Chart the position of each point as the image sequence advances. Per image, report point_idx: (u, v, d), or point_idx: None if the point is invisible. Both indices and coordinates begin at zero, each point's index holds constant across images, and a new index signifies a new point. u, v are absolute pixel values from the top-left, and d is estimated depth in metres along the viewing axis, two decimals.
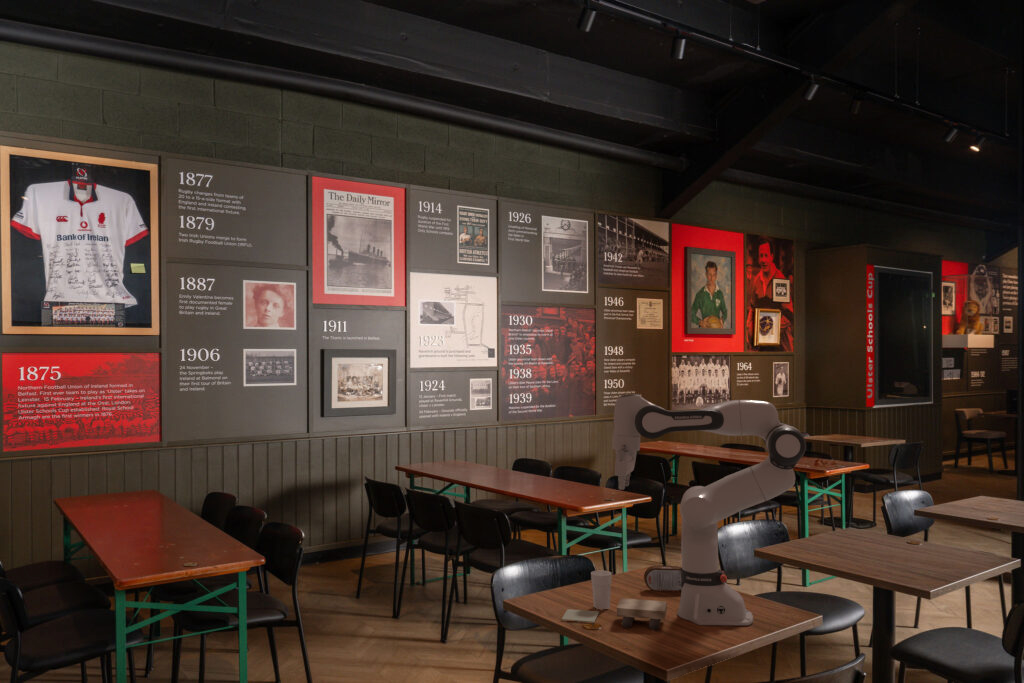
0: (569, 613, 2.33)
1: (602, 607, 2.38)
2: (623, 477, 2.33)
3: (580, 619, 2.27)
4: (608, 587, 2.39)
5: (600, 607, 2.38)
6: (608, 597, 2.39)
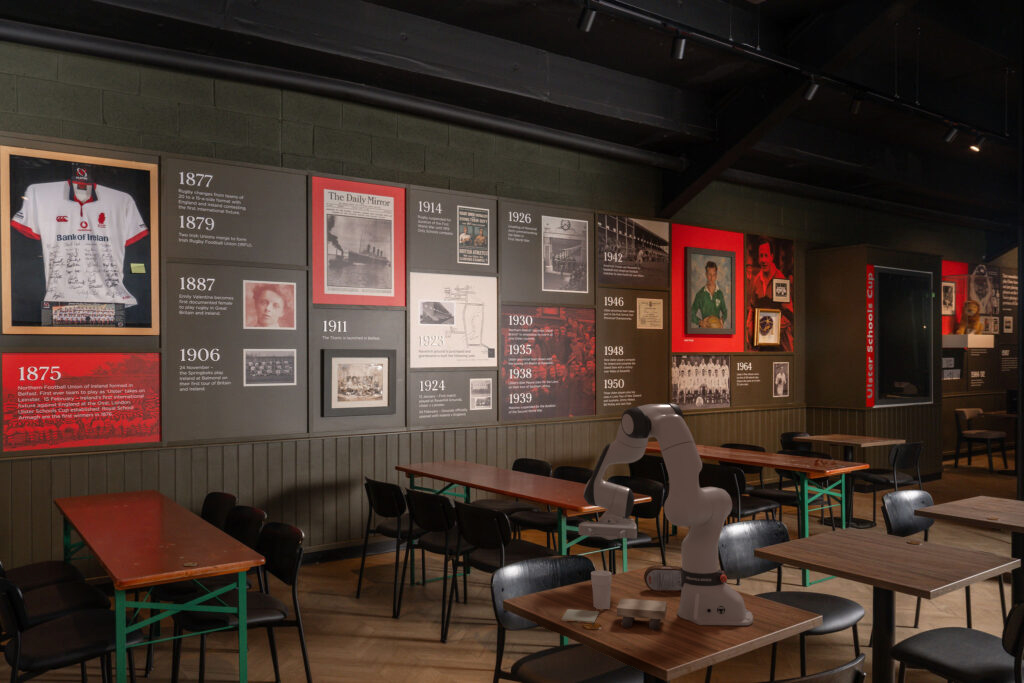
0: (569, 613, 2.33)
1: (602, 607, 2.38)
2: None
3: (580, 619, 2.27)
4: (608, 587, 2.39)
5: (600, 607, 2.38)
6: (608, 597, 2.39)
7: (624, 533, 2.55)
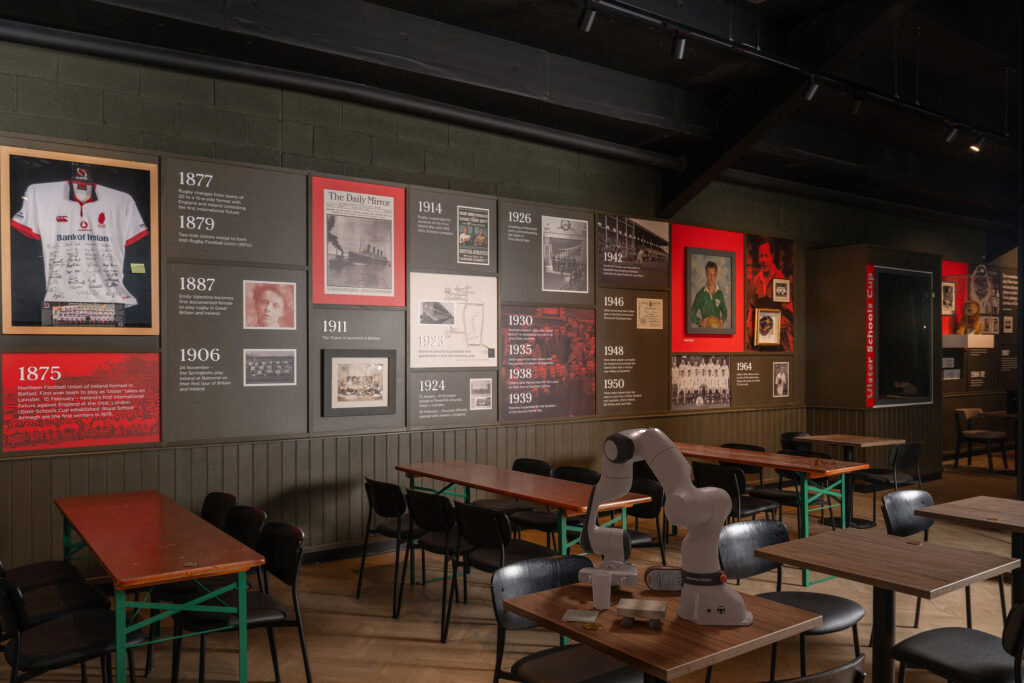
0: (569, 613, 2.33)
1: (602, 607, 2.38)
2: None
3: (580, 619, 2.27)
4: (608, 587, 2.39)
5: (600, 607, 2.38)
6: (608, 597, 2.39)
7: (625, 580, 2.50)
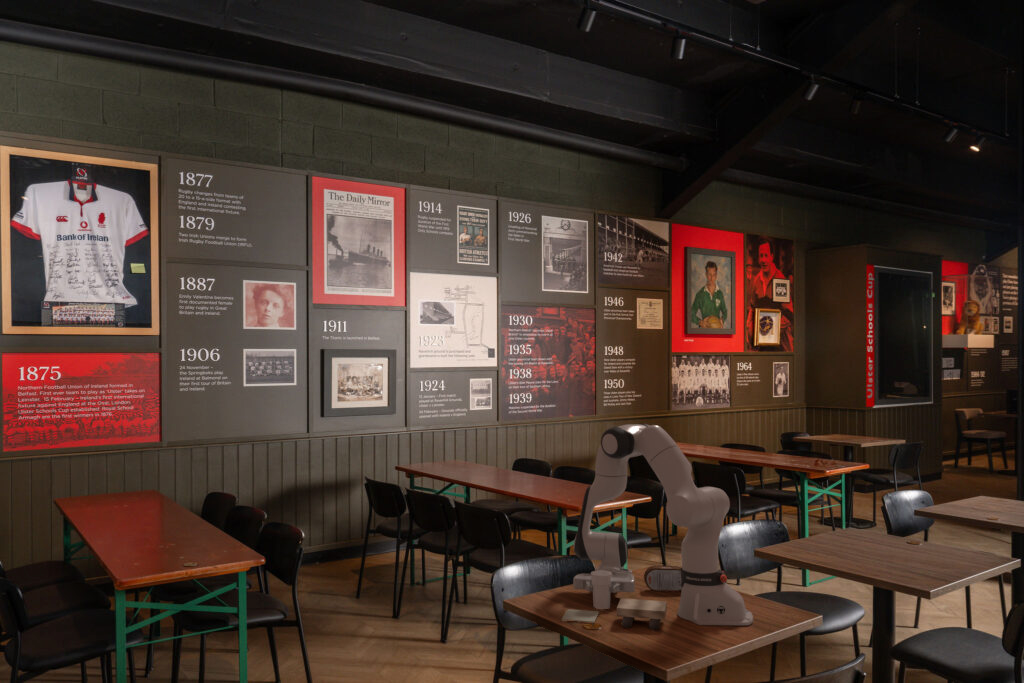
0: (569, 613, 2.33)
1: (602, 607, 2.38)
2: None
3: (580, 619, 2.27)
4: (608, 587, 2.39)
5: (600, 607, 2.38)
6: (608, 597, 2.39)
7: (618, 587, 2.42)
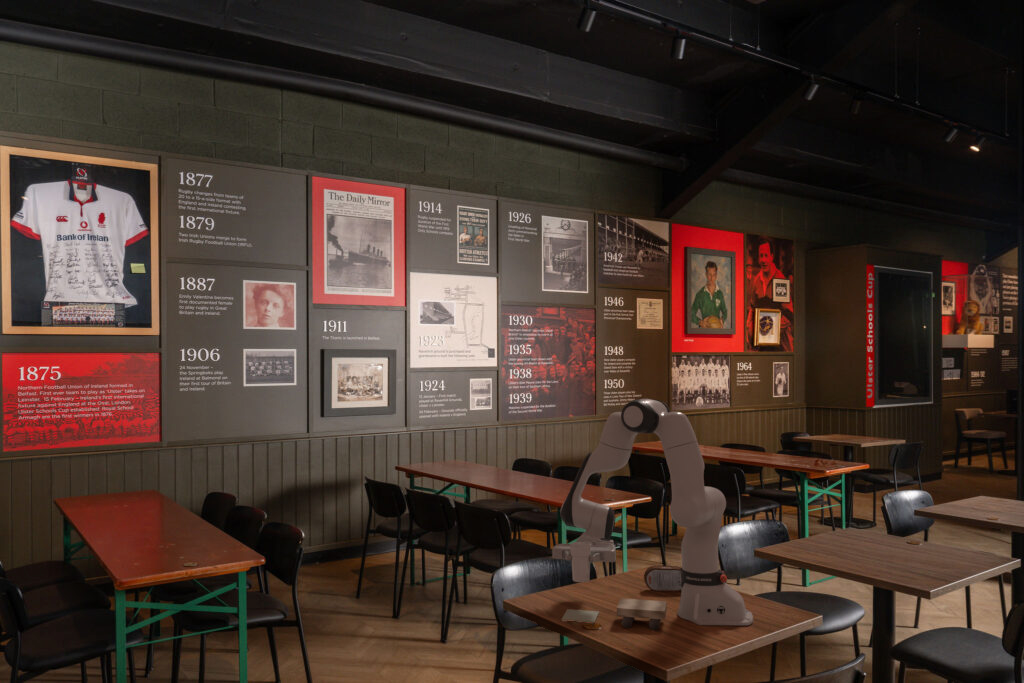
0: (569, 613, 2.33)
1: (581, 579, 2.30)
2: None
3: (580, 619, 2.27)
4: (587, 559, 2.31)
5: (579, 579, 2.30)
6: (587, 569, 2.31)
7: (598, 556, 2.34)
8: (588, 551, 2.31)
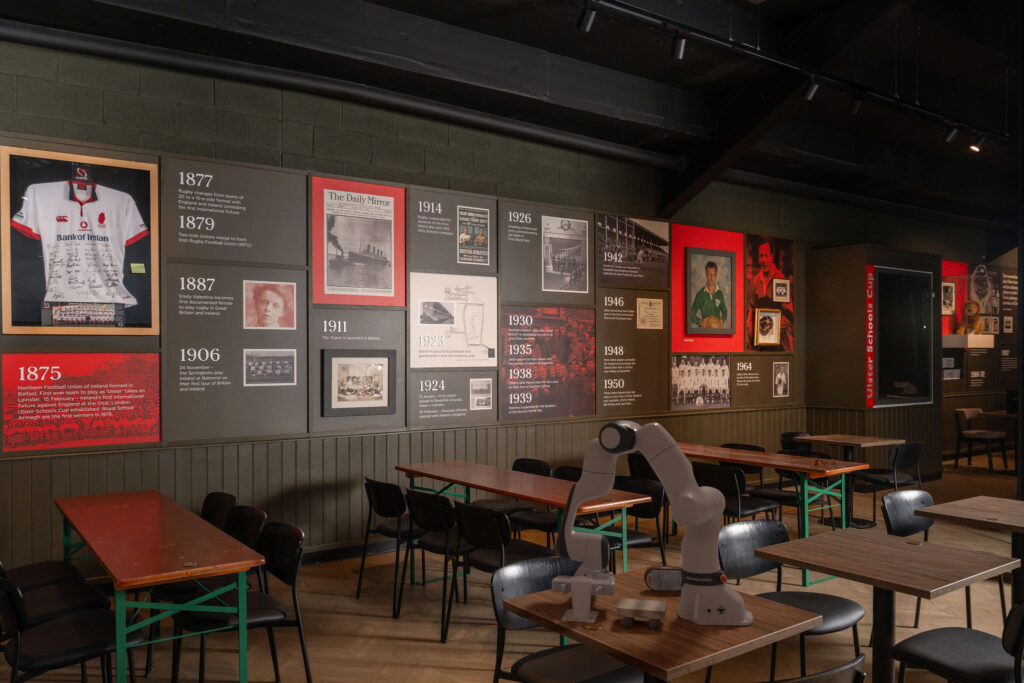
0: (569, 613, 2.33)
1: (582, 615, 2.29)
2: None
3: (580, 619, 2.27)
4: (588, 594, 2.30)
5: (580, 615, 2.29)
6: (588, 604, 2.30)
7: (601, 590, 2.32)
8: (589, 586, 2.30)
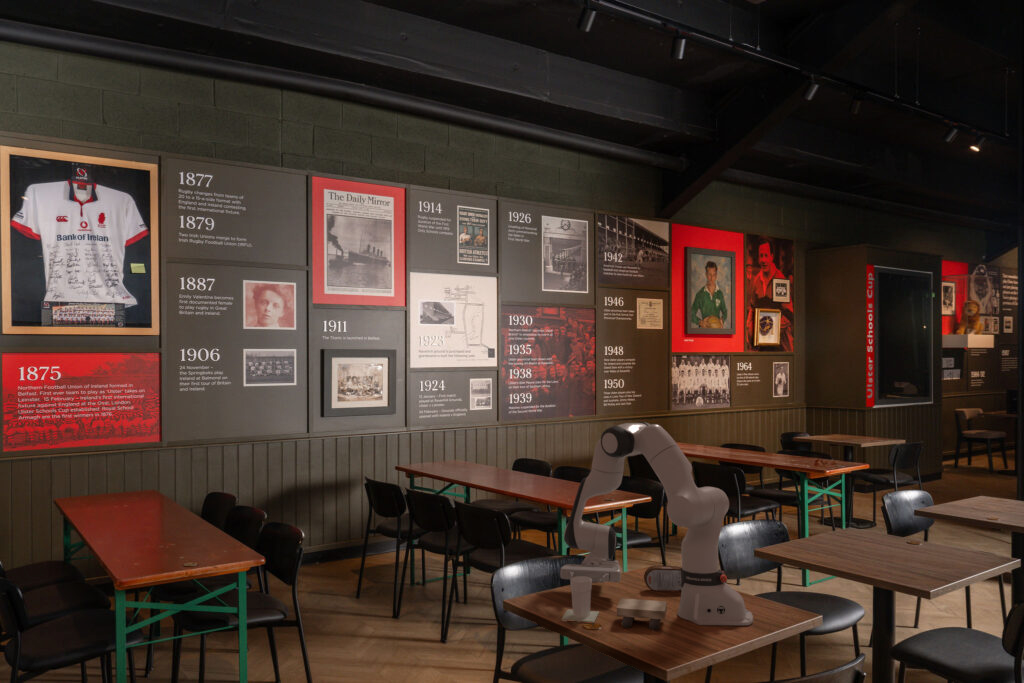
0: (569, 613, 2.33)
1: (582, 615, 2.29)
2: None
3: (580, 619, 2.27)
4: (588, 594, 2.30)
5: (580, 615, 2.29)
6: (588, 604, 2.30)
7: (607, 577, 2.45)
8: (589, 586, 2.30)
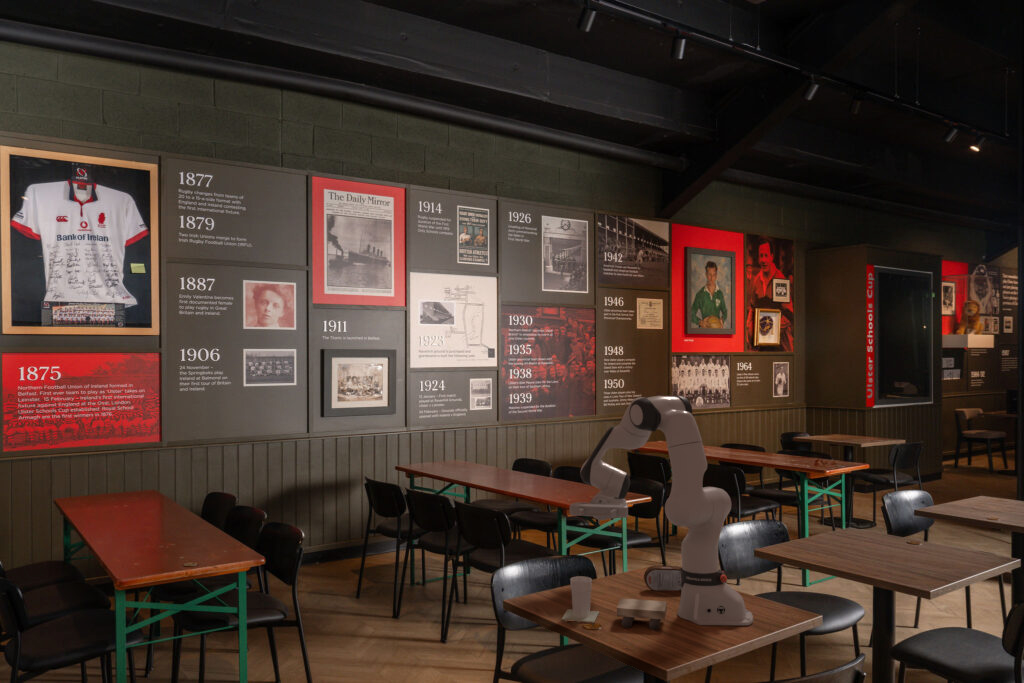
0: (569, 613, 2.33)
1: (582, 615, 2.29)
2: None
3: (580, 619, 2.27)
4: (588, 594, 2.30)
5: (580, 615, 2.29)
6: (588, 604, 2.30)
7: (615, 512, 2.54)
8: (589, 586, 2.30)
